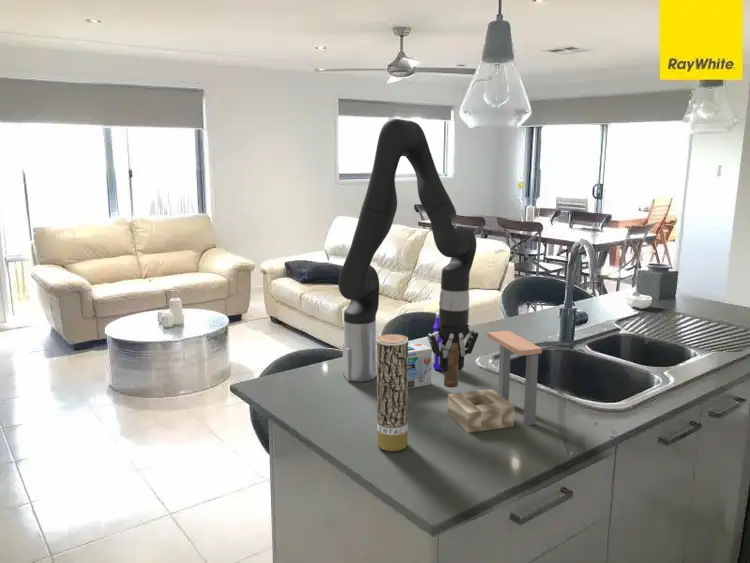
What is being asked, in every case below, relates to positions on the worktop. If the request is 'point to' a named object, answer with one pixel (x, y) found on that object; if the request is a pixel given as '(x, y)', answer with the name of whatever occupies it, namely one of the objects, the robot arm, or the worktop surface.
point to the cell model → (638, 300)
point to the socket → (480, 410)
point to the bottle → (435, 358)
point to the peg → (452, 366)
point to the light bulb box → (419, 365)
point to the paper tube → (392, 392)
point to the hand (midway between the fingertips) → (451, 369)
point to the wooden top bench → (531, 351)
